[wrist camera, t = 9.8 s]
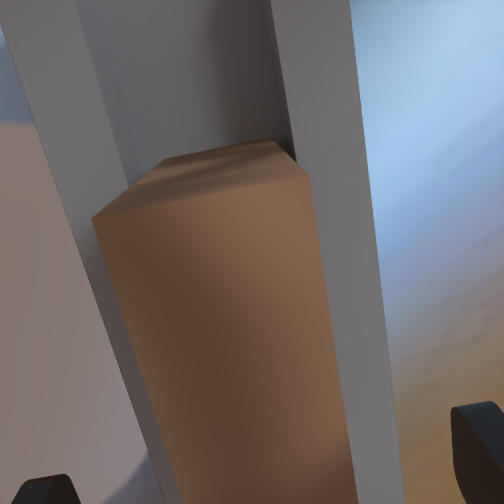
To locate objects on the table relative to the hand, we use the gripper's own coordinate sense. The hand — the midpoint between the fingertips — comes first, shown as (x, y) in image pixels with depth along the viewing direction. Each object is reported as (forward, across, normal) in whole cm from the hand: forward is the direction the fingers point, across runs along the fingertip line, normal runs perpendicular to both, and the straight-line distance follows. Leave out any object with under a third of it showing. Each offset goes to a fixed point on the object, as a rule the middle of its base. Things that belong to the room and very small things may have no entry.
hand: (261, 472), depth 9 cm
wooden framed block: (+10, 0, 0) cm, 10 cm away
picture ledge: (+11, 0, 0) cm, 11 cm away
